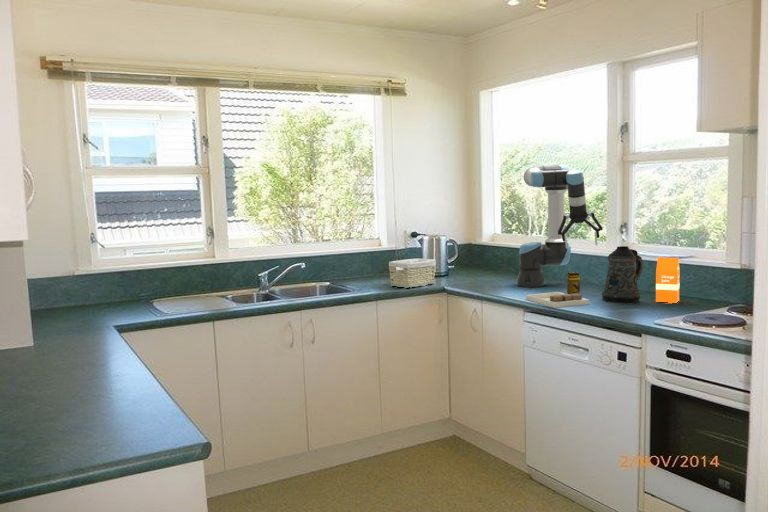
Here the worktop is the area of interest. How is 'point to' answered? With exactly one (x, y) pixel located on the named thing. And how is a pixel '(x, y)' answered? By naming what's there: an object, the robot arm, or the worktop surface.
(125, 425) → the worktop surface
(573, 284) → the condiment
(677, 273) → the orange juice
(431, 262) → the storage basket
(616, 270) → the beer stein
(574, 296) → the block
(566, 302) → the tray
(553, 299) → the block
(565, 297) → the block
